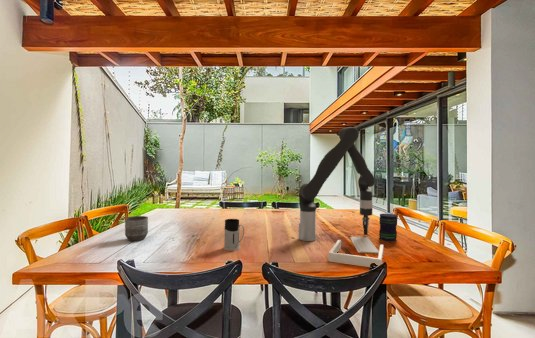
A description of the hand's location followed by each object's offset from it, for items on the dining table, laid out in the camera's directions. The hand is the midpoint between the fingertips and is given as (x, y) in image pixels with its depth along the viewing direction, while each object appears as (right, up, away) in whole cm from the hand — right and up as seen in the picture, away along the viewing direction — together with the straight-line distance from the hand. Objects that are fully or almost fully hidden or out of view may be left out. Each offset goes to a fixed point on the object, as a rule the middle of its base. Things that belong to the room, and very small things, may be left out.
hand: (365, 234), depth 185 cm
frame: (-17, -2, -40) cm, 44 cm away
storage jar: (+11, -2, -7) cm, 13 cm away
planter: (-138, 0, -13) cm, 138 cm away
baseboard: (-8, -2, -19) cm, 21 cm away
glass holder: (-79, -1, -30) cm, 84 cm away
